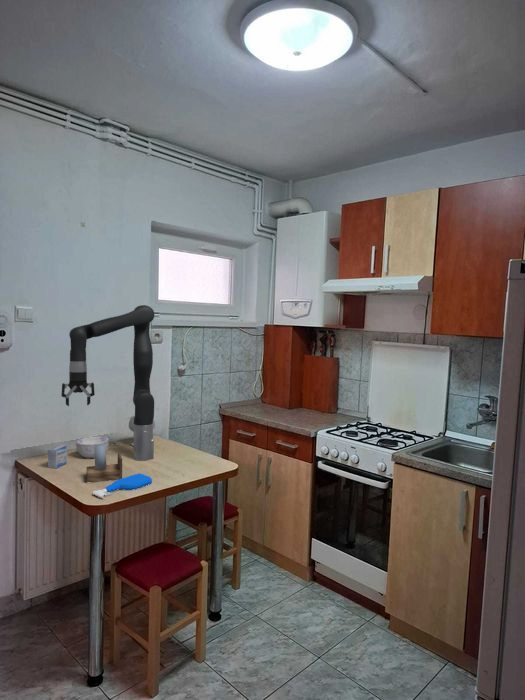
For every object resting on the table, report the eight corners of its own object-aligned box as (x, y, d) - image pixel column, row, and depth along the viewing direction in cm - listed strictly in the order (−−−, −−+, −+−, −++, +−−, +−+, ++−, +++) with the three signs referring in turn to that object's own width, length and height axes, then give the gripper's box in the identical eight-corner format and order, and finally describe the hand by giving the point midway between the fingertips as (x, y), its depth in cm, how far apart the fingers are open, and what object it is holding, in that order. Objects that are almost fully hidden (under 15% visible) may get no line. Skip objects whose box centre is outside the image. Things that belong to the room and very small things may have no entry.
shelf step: (119, 472, 213) (119, 452, 212) (122, 479, 203) (122, 459, 203) (86, 475, 207) (86, 455, 207) (87, 483, 198) (87, 462, 198)
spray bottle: (138, 472, 206) (87, 488, 187) (154, 477, 199) (103, 495, 180) (138, 478, 206) (87, 495, 187) (154, 484, 200) (103, 502, 180)
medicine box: (56, 468, 216) (56, 449, 215) (47, 467, 217) (47, 449, 216) (66, 463, 224) (66, 445, 223) (58, 462, 225) (58, 444, 224)
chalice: (129, 448, 251) (129, 420, 250) (127, 441, 265) (127, 415, 264) (156, 446, 256) (156, 419, 255) (153, 440, 269) (153, 414, 268)
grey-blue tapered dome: (99, 466, 208) (99, 444, 207) (108, 467, 206) (107, 445, 205) (92, 469, 203) (91, 446, 203) (101, 470, 202) (100, 447, 201)
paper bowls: (71, 454, 238) (71, 439, 238) (101, 449, 248) (101, 434, 248) (83, 461, 227) (82, 445, 226) (113, 456, 237) (113, 440, 236)
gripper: (61, 371, 213) (61, 407, 214) (94, 371, 218) (94, 406, 219) (61, 370, 220) (61, 404, 221) (94, 369, 225) (94, 403, 226)
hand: (78, 405), depth 220 cm, fingers open, 8 cm apart
